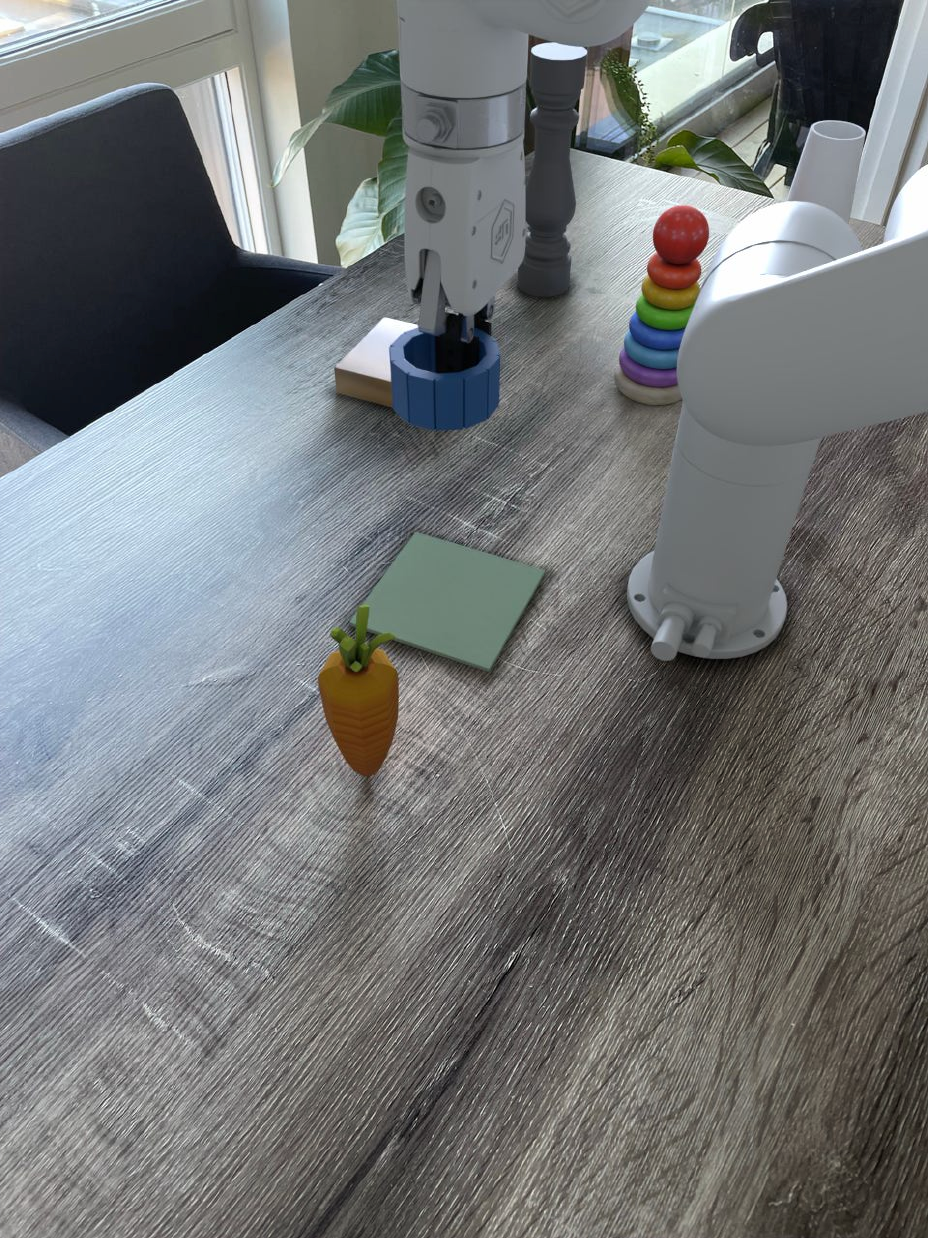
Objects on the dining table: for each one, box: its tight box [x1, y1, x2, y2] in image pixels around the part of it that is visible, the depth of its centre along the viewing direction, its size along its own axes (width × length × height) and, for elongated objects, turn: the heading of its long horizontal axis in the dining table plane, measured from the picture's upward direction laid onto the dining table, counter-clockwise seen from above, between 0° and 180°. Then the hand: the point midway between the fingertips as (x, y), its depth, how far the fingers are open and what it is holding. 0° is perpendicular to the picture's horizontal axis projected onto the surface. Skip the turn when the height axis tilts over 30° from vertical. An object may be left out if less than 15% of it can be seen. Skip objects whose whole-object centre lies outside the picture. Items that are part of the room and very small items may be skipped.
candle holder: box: [516, 42, 588, 298], centre depth 109 cm, size 6×6×25 cm
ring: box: [389, 327, 501, 432], centre depth 71 cm, size 8×8×4 cm
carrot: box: [317, 604, 400, 778], centre depth 63 cm, size 5×5×15 cm
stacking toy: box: [613, 204, 710, 406], centre depth 96 cm, size 8×8×19 cm
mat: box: [348, 531, 546, 673], centre depth 81 cm, size 12×12×1 cm
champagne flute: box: [785, 119, 867, 226], centre depth 97 cm, size 7×7×24 cm
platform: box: [333, 317, 418, 409], centre depth 103 cm, size 11×12×3 cm
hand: (463, 374), depth 74 cm, fingers closed on ring, 1 cm apart
